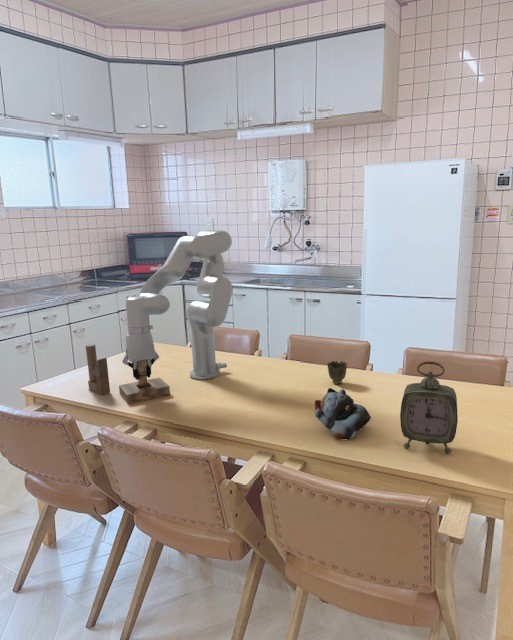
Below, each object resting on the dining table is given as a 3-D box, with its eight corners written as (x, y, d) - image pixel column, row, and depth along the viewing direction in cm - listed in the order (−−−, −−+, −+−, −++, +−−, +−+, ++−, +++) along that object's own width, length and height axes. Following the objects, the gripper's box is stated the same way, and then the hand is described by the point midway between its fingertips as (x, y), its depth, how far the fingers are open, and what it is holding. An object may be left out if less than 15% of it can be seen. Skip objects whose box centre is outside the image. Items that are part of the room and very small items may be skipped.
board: (160, 385, 194) (159, 377, 193) (170, 394, 183) (169, 386, 183) (119, 394, 186) (118, 385, 186) (127, 404, 176) (126, 394, 175)
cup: (325, 385, 187) (325, 365, 185) (330, 379, 194) (329, 360, 192) (344, 387, 184) (344, 367, 183) (348, 381, 191) (348, 361, 189)
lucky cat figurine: (345, 445, 139) (321, 402, 139) (322, 445, 150) (300, 405, 149) (379, 417, 146) (357, 377, 146) (355, 419, 157) (334, 381, 157)
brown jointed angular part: (102, 395, 186) (96, 350, 182) (88, 389, 193) (83, 345, 189) (110, 392, 188) (105, 347, 184) (97, 386, 196) (92, 343, 192)
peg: (146, 381, 186) (144, 356, 184) (149, 384, 183) (147, 359, 181) (136, 383, 185) (134, 358, 183) (139, 386, 181) (137, 360, 179)
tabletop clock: (399, 450, 135) (401, 364, 130) (401, 436, 143) (404, 354, 138) (455, 458, 130) (460, 368, 124) (455, 443, 138) (459, 358, 133)
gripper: (157, 325, 187) (160, 371, 190) (113, 331, 179) (117, 378, 183) (163, 329, 180) (167, 376, 184) (118, 335, 172) (122, 384, 176)
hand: (142, 377), depth 183 cm, fingers closed on peg, 3 cm apart
